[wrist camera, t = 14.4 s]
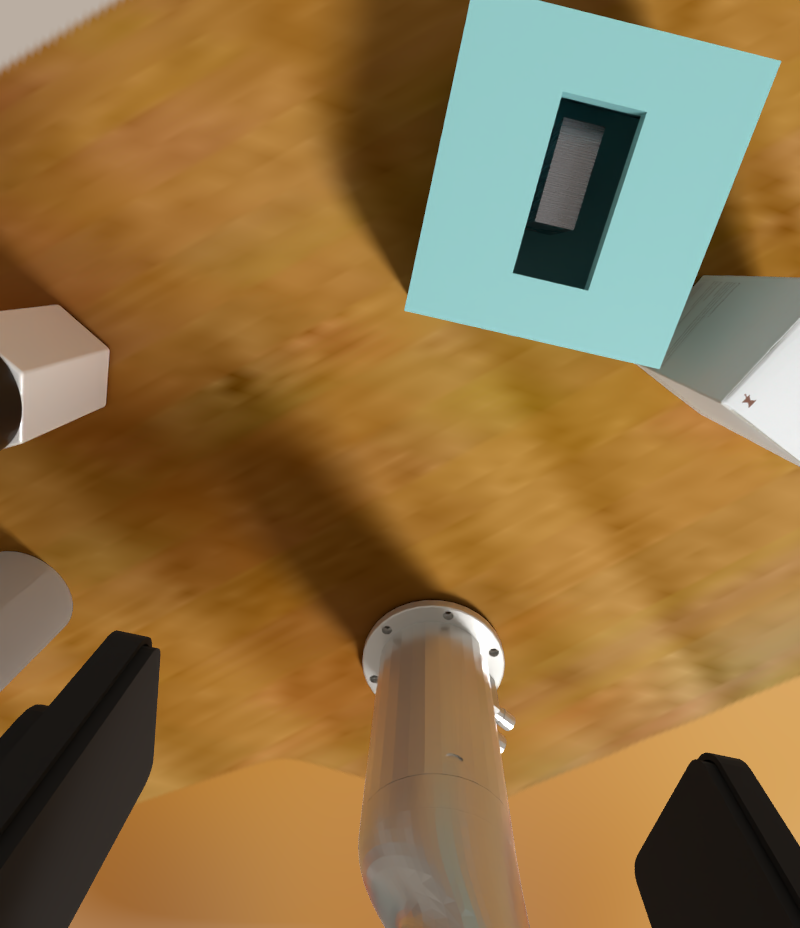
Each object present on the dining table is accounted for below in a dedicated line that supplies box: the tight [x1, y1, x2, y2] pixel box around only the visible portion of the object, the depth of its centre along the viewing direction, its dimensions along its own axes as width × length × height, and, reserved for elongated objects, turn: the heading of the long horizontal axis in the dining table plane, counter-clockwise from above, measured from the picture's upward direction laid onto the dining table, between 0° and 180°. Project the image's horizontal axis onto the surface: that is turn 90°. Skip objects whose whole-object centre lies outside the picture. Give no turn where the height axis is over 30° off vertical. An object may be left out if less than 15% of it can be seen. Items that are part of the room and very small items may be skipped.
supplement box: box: [636, 275, 800, 466], centre depth 32 cm, size 7×7×13 cm
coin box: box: [404, 0, 781, 369], centre depth 31 cm, size 14×14×10 cm
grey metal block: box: [525, 117, 605, 235], centre depth 31 cm, size 2×6×5 cm
